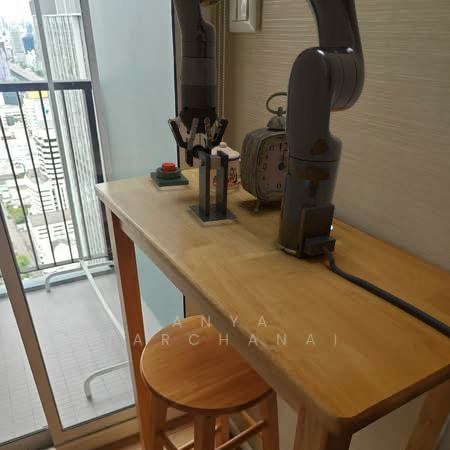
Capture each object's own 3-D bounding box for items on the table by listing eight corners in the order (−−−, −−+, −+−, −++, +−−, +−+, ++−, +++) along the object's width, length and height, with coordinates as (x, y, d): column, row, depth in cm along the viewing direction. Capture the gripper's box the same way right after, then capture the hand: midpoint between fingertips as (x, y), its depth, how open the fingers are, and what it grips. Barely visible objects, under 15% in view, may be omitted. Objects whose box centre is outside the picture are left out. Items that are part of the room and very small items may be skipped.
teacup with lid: (211, 195, 104) (212, 147, 98) (200, 184, 112) (200, 139, 105) (253, 191, 108) (257, 145, 102) (240, 181, 115) (242, 138, 109)
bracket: (188, 210, 94) (187, 148, 87) (221, 207, 97) (222, 146, 90) (203, 226, 87) (203, 160, 79) (237, 222, 89) (240, 157, 82)
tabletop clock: (251, 218, 91) (260, 94, 78) (234, 205, 98) (239, 89, 85) (306, 211, 97) (322, 93, 83) (286, 199, 104) (298, 89, 90)
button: (177, 172, 108) (177, 165, 107) (163, 173, 107) (163, 166, 106) (173, 168, 111) (173, 162, 110) (160, 169, 110) (160, 163, 109)
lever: (189, 157, 95) (189, 143, 93) (202, 156, 96) (202, 142, 94) (208, 172, 85) (208, 156, 83) (222, 171, 86) (223, 155, 84)
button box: (188, 188, 108) (188, 173, 106) (159, 191, 106) (158, 175, 104) (178, 178, 116) (178, 163, 114) (150, 180, 114) (149, 165, 111)
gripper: (170, 83, 80) (173, 172, 90) (236, 83, 85) (232, 167, 94) (161, 80, 86) (164, 163, 96) (223, 80, 91) (220, 159, 100)
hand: (198, 165), depth 95 cm, fingers closed on lever, 3 cm apart
